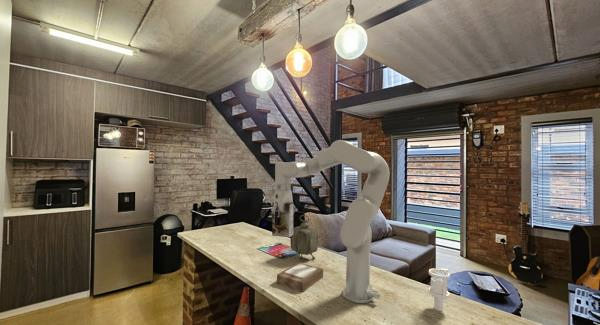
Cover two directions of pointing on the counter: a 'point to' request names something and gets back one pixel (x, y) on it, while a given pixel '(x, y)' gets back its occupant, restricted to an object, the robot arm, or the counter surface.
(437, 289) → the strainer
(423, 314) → the counter surface
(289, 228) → the coffee box
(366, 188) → the robot arm
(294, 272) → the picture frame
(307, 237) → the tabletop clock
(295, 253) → the tablet
